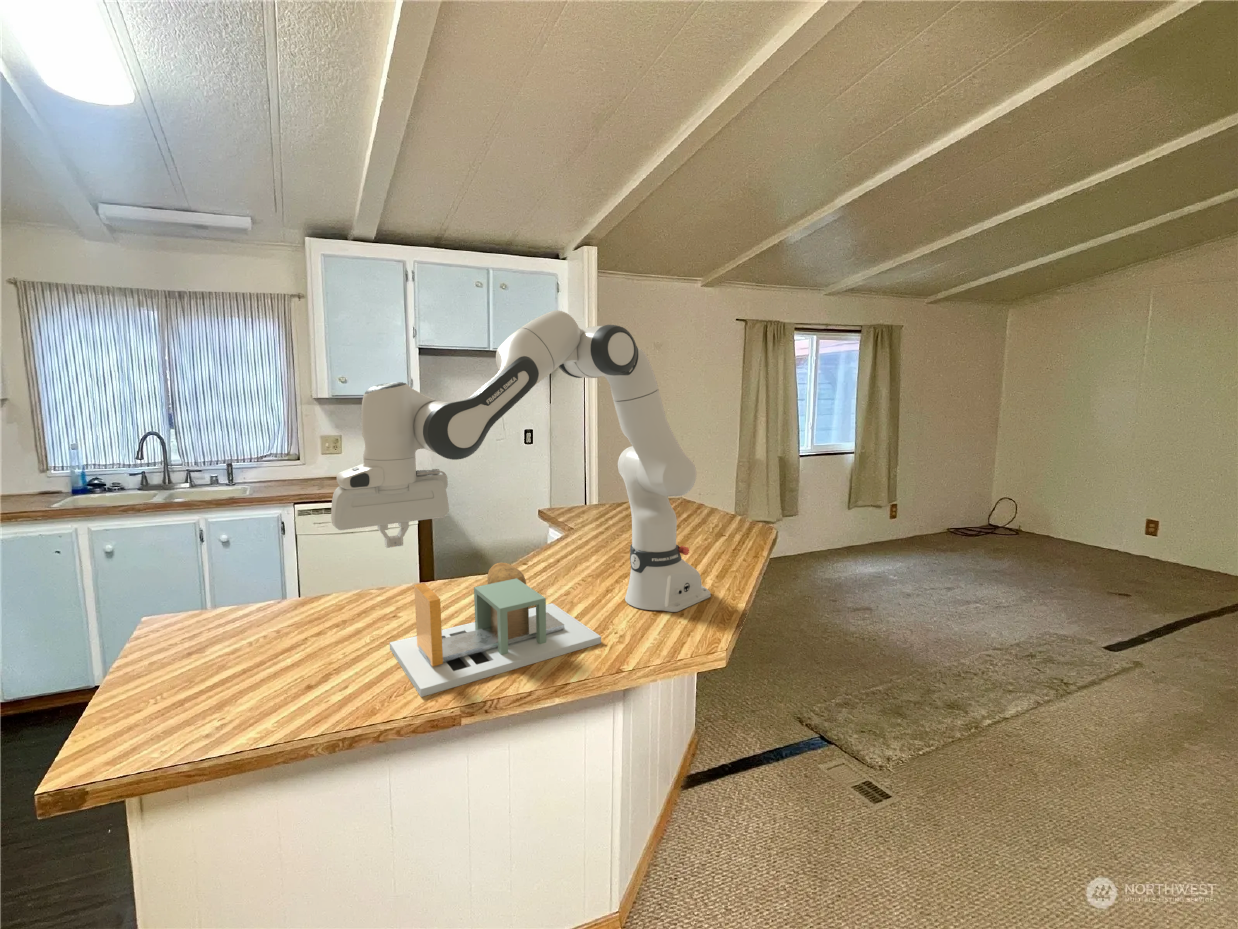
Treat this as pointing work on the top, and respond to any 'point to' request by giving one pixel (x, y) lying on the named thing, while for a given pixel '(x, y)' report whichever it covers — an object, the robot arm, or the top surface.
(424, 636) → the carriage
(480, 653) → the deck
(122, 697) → the top surface
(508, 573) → the potato
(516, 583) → the tunnel
